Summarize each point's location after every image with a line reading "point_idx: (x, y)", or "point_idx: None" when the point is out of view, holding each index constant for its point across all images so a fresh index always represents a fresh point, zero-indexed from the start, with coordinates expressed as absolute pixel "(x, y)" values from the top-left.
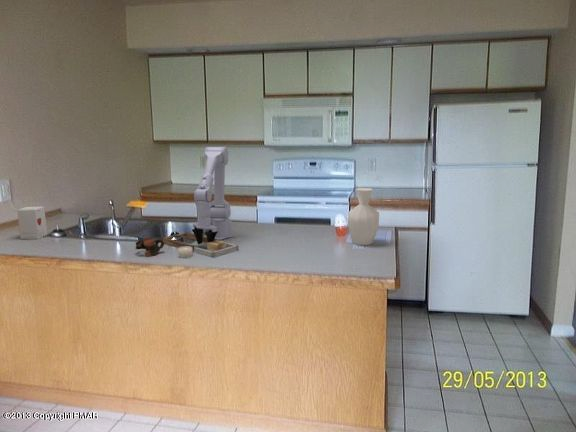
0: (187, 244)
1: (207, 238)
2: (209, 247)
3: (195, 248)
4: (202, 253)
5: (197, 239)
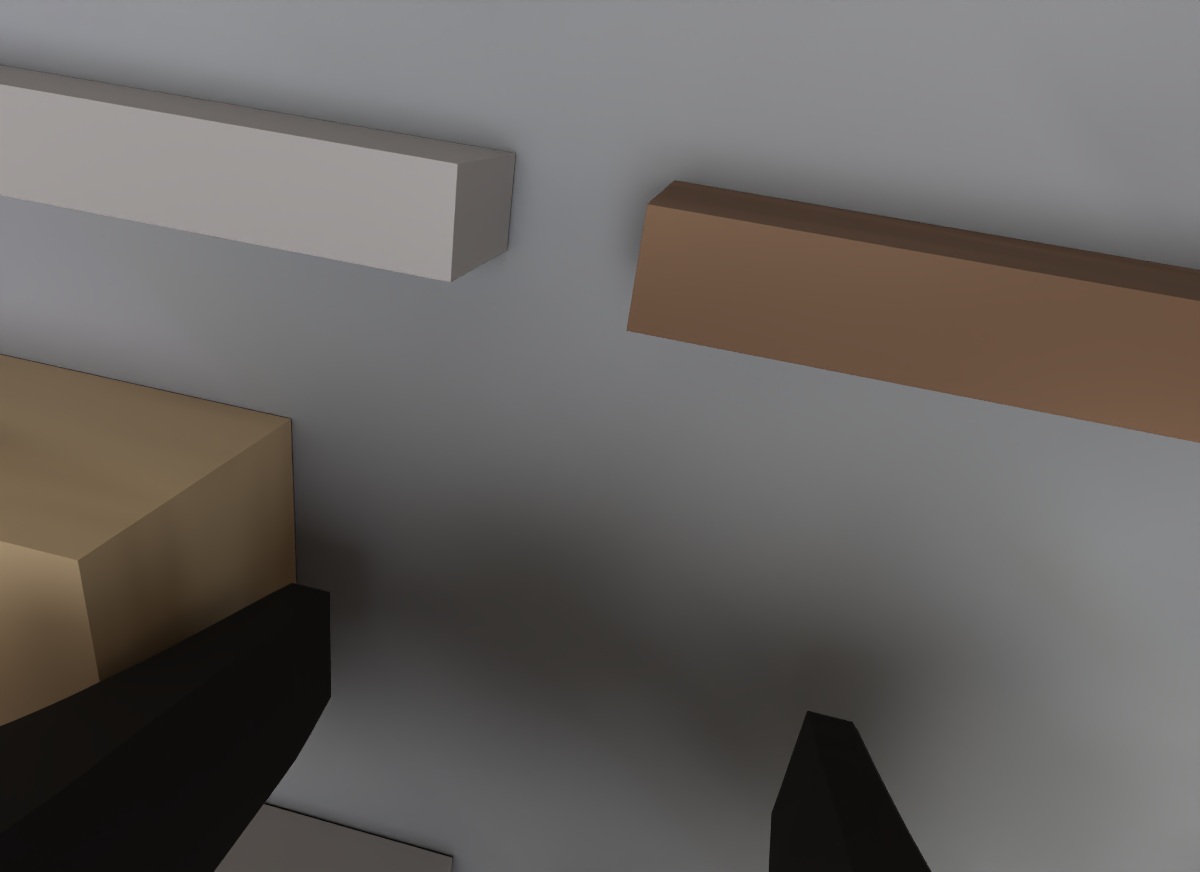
0: (1042, 322)
1: (51, 766)
2: (100, 455)
3: (423, 158)
4: (119, 90)
5: (846, 844)
